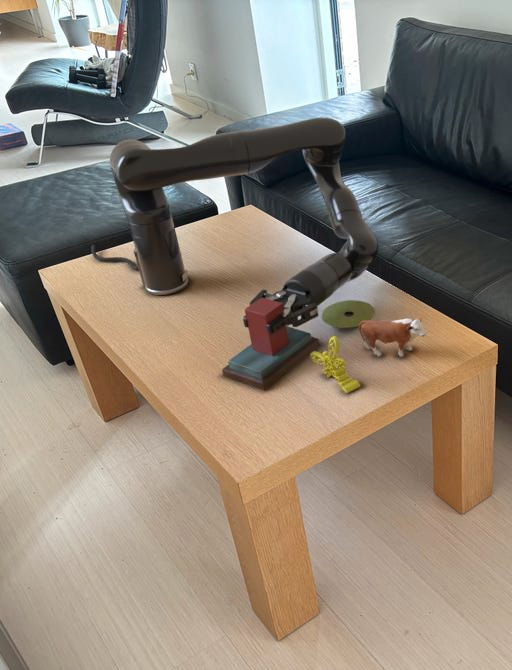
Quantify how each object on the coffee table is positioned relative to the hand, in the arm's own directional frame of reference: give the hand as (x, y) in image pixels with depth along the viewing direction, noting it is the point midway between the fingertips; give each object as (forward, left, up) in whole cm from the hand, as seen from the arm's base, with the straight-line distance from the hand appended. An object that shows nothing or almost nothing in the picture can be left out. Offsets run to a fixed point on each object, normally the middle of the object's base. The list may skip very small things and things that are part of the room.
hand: (256, 326), depth 136 cm
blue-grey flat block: (0, +3, -9) cm, 10 cm away
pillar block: (0, +3, -6) cm, 7 cm away
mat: (+5, +22, -9) cm, 24 cm away
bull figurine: (+20, +16, -9) cm, 27 cm away
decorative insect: (+14, +4, -9) cm, 17 cm away
